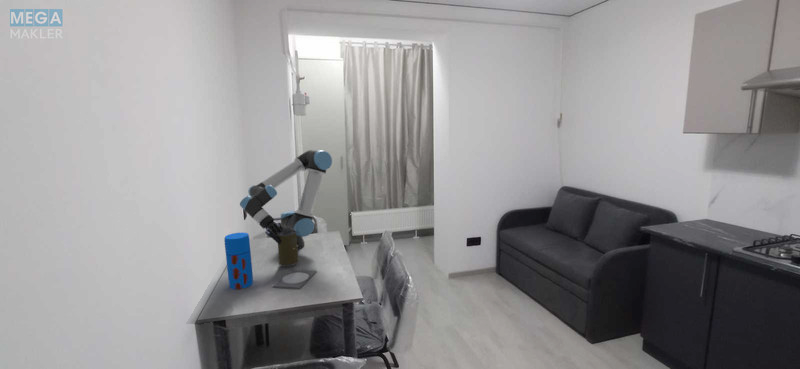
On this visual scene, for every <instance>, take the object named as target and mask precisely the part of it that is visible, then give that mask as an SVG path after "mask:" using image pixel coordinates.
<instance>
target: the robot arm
mask: <svg viewBox="0 0 800 369" xmlns="http://www.w3.org/2000/svg"><path fill="white" fill-rule="evenodd" d="M332 158H333V157H332V156H331V154H330V153H329V152H328V151H325V150H322V149H310V150H309V149H308V150H307V151H305V152H304V153H301V154H300V155H299V156H297V157H296V158H294V161H292V162H291V163H288V165H286V166H284V167H283V168H282V169H280V170H279V171H277V172H275V173H273V174H272V175H271V176H269V177H268V178H266V179H264V180H263V181H261V182H260V183H258V184H256V185H251V186H250V187H249V188H248V195H247V196H245V197H243V199H241V201H240V202H239V206H240V207H241V208H242V209H243V210H244V212H245V213H247V214H248V216H250V217H251V218H252V219H253V220H254V221H255V222H256V223H257V224H259V226H260V227H261V228H262V229H263V230H264V229H265V230H266V231H264V233H265V234H266V235H268V236H269V237H270V238H271V239H272V240H273V241H275V242H276V244H277V245H278V244H280V243H281V242H282V241H281V239H280V238H279V237H278V236H277V234H279V233H278V232H283V230H282V229H283V228H285V227H290V229H293V230H295V231H296V237H297V250H298V249H299V250H300V249H302V248H304V247H305V241H304V237H305V238H306V237H308V236H309V235H311V234H312V232H313V231H314V228H315V224H314V223H315V222H314V221H313V220H314V214H313V210H314V207H315V203H316V200H317V195H318V193H319V188H320V185H321V182H322V178H323V176H324V175H326V173H327V170H328V169H330V168H331V166H332V164H333V159H332ZM306 170H307V172H308V174H307V176H306V179H305V183H304V186H303V190H302V193H301V194H302V195H301V198H300V201H299V204H298V207H297V208H298V209H297V210H290V211H285V212H283V213H280V222H278V223H276V222H275V221H274V220H275V219H274V217H272V216H271V215H270V214H269V213H268V212H267V210H265V208H263V207H264V206H265V205H266V204H268V203H269V202H270V201H272V200H273V199H275V197H276V196H277V194H278V192H277V190H276V188H278V187H279V186H281V185H282V184H284V183H285V182H287V181H289V180H290V179H292V178H293V177H294V176H296V175H298V174H300V172H305V171H306ZM293 249H294V248H293Z"/></svg>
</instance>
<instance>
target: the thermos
mask: <svg viewBox="0 0 800 369" xmlns="http://www.w3.org/2000/svg"><path fill="white" fill-rule="evenodd" d="M224 247H225V249H224V250H225V258H226V259H225V260H226V268H227V279H228V284H229V288H230V289H232V290H242V289H246V288H249V287H251V286H252V285H253V282H254V278H253V277H254V276H253V266H252V265H253V264H252V254H251V253H252V251H251V243H250V235H249V233H248V232H235V233H230V234H227V235H225V237H224Z"/></svg>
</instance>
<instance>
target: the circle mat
mask: <svg viewBox="0 0 800 369" xmlns="http://www.w3.org/2000/svg"><path fill="white" fill-rule="evenodd" d="M315 274H317V270H313V269H312V270H311V269H309V270H308V269H295V268H294V269H290V270H289V271H288V272H287V273H285V274H284V275H283V276H282V277H281V278H280V279H279V280H278V281H276V283H274V284H273V285H272V288H279V289H290V290H291V289H294V290H301V289H302V287H304V285H306V283H307V282H309V281H310V279H311V278H313V277H314V275H315Z"/></svg>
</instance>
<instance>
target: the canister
mask: <svg viewBox="0 0 800 369" xmlns="http://www.w3.org/2000/svg"><path fill="white" fill-rule="evenodd" d="M282 230H283V232H278V233H279V234H277V236H278V237H279V238H280V239H281V241H282V242H281V243H280V244H278V243H277V252H278V264H279V265H280V266H282V267H289V266H294V265H296V264H298V263H299V254H298V249H297V237H296V231H295V230H293V229H290V227H285V228H283V229H282ZM293 248H294V249H293Z"/></svg>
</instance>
